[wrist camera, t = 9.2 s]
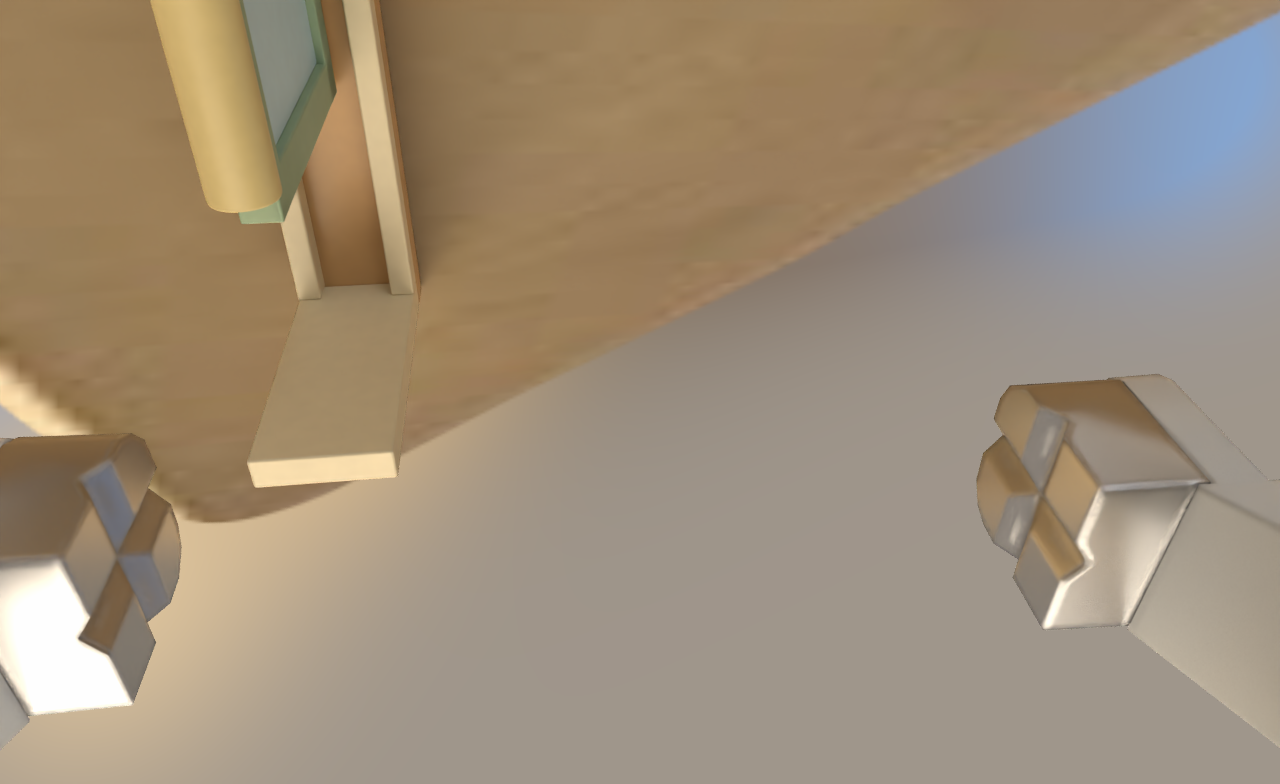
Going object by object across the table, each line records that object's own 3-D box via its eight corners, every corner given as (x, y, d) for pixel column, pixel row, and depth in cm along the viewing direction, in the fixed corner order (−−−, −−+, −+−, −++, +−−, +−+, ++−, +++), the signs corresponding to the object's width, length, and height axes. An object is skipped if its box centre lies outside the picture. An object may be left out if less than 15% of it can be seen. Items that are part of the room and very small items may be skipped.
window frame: (313, 294, 36) (253, 488, 27) (180, -299, 25) (11, -301, 16) (421, 289, 36) (398, 478, 27) (336, -297, 26) (252, -299, 17)
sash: (295, 93, 30) (210, 258, 21) (232, -208, 25) (90, -161, 16) (347, 92, 30) (286, 254, 21) (294, -208, 25) (188, -162, 16)
